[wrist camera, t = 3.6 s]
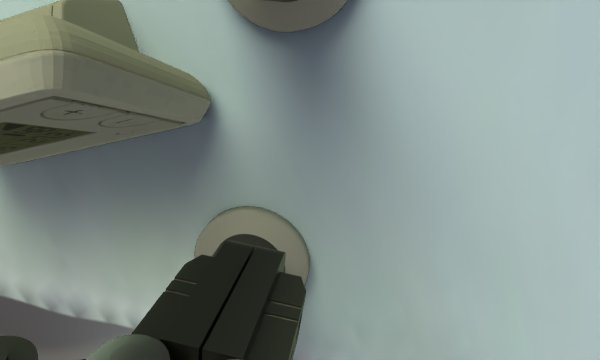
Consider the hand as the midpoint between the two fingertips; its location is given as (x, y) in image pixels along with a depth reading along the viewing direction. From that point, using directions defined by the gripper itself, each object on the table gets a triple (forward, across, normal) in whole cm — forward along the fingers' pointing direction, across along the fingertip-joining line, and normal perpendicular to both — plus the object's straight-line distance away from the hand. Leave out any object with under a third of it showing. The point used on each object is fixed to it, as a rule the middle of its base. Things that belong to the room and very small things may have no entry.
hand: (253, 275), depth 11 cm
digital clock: (+13, +14, 0) cm, 19 cm away
